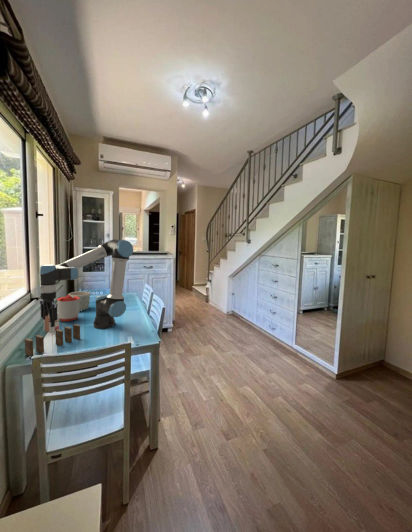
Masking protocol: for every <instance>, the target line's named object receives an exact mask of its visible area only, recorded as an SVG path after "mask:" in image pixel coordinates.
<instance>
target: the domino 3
mask: <svg viewBox="0 0 412 532" xmlns="http://www.w3.org/2000/svg"><path fill="white" fill-rule="evenodd" d="M49 321H50V318H49V315H47V316H45V331H44V332H47V333H49Z"/></svg>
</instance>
